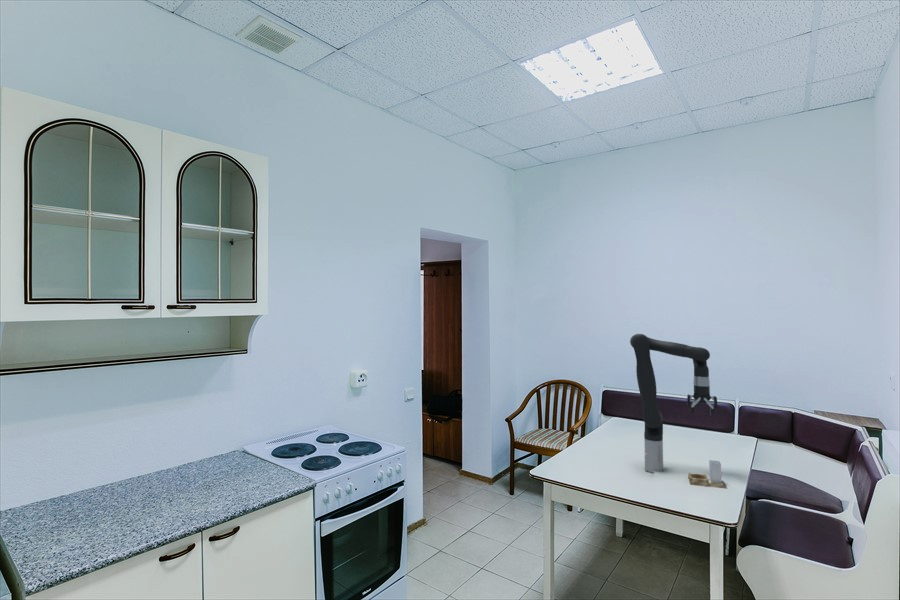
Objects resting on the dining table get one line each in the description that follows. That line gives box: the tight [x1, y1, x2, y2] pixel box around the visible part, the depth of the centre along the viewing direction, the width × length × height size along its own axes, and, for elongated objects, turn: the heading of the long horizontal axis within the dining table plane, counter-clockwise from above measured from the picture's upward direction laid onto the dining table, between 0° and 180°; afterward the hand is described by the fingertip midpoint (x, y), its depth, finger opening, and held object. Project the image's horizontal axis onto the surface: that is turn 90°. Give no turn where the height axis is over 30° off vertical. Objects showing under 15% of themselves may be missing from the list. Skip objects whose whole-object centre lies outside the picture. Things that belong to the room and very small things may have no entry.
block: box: [708, 459, 722, 484], centre depth 224 cm, size 4×4×10 cm
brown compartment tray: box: [687, 472, 728, 490], centre depth 224 cm, size 16×11×4 cm
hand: (702, 414), depth 240 cm, fingers open, 8 cm apart
